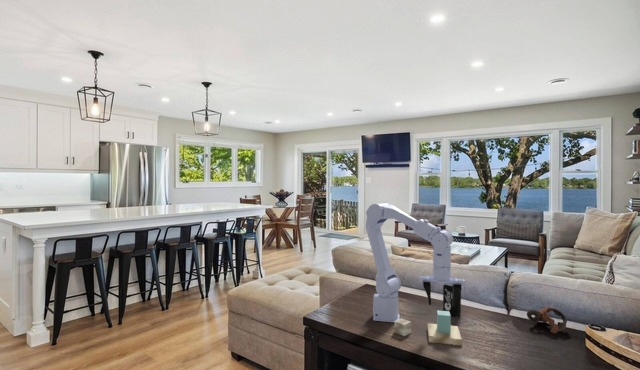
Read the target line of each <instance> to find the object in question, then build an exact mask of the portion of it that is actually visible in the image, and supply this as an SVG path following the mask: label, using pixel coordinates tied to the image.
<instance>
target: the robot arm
mask: <svg viewBox="0 0 640 370" xmlns="http://www.w3.org/2000/svg"><path fill="white" fill-rule="evenodd" d="M365 215H366V220H365V229H366V232H367V233H366V234H367V237H368V240H369V241H368V242H369V244H370V248H371V252H372V256H373V260H374V263H375V267H376V270H377V272H376V275H375V277H374V278H375V279H374V280H375V290H376V293H374V294H373V298H372V299H373V301H372V303H373V304H372V305H373V306H372V314H373V315H372V316H373V317H372V321H375V322H386V323H394V321H396V320H398V319H400V315H401V314H400V313H399V291H400V289H401V288H402V281H401V279H400V278H399V277H398V275H397V272H396V270H394V269H393V268H392V265H391V262H390V257H389V254H388V251H387V246H386V243H385V240H384V236H383V232H382V226H383V225H384V223H385V222H386V221H387V220H389V219H390V220H391V219H394V220H395V221H397V222H399V223H402V224H403V225H406V226H407V227H409V228H411V229H412V231H413V233H414V234H415V235H417V236H419V237H421V238H422V239H424V240H425V241H428V242H429V243H430V244H431V245H432V247H433V253H432V255H433V257H432V259H433V260H432V264H433V265H432V266H433V267H432V275H424V276H423V275H419V283H420V284H422V286H423V288H424V291H425V293H426V296H427V300H428V305H432V297H431V296H432V295H431V293H432V287H431V284H438V285H444V284H447V285H452V290H453V296H452V306H453V307H455V303H456V300H457V297H458V295H459V293H460V292H461V293H462V287H464V288H465V286H466V284H465V283H466V281H465V279H464V278H457V277H452V276H451V275H452V270H451V269H452V268H451V266H452V252H451V251H452V246H451V245H452V244H453V243H454V235H453V234H452V233H451V231H449V230H448V229H442V228H441V227H440V226H436V225H434V224H432V223H431V222H430V220H428V219H427V218H425V219H423V218H422V219H418V220H417V218H415V217H413V216H411V215H410V214H408V213H406V212H405V211H403V210H402V209H399V208H398V207H397V206H395V205H394V204H391V203H389V202H381V203H372V204H370V205H369V206H368V208H367V209H366V211H365Z"/></svg>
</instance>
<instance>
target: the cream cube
mask: <svg viewBox="0 0 640 370" xmlns="http://www.w3.org/2000/svg"><path fill="white" fill-rule="evenodd" d="M393 324H394V328H393V329H394V331H393V332H394V333H395V334H397V335H399V336H402V337H406V336H408V335H410V334H411V333H412V322H411V321H410V320H407V319H404V318H402V317H401V318H399V319H398V320H396V321H394V322H393Z"/></svg>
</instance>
